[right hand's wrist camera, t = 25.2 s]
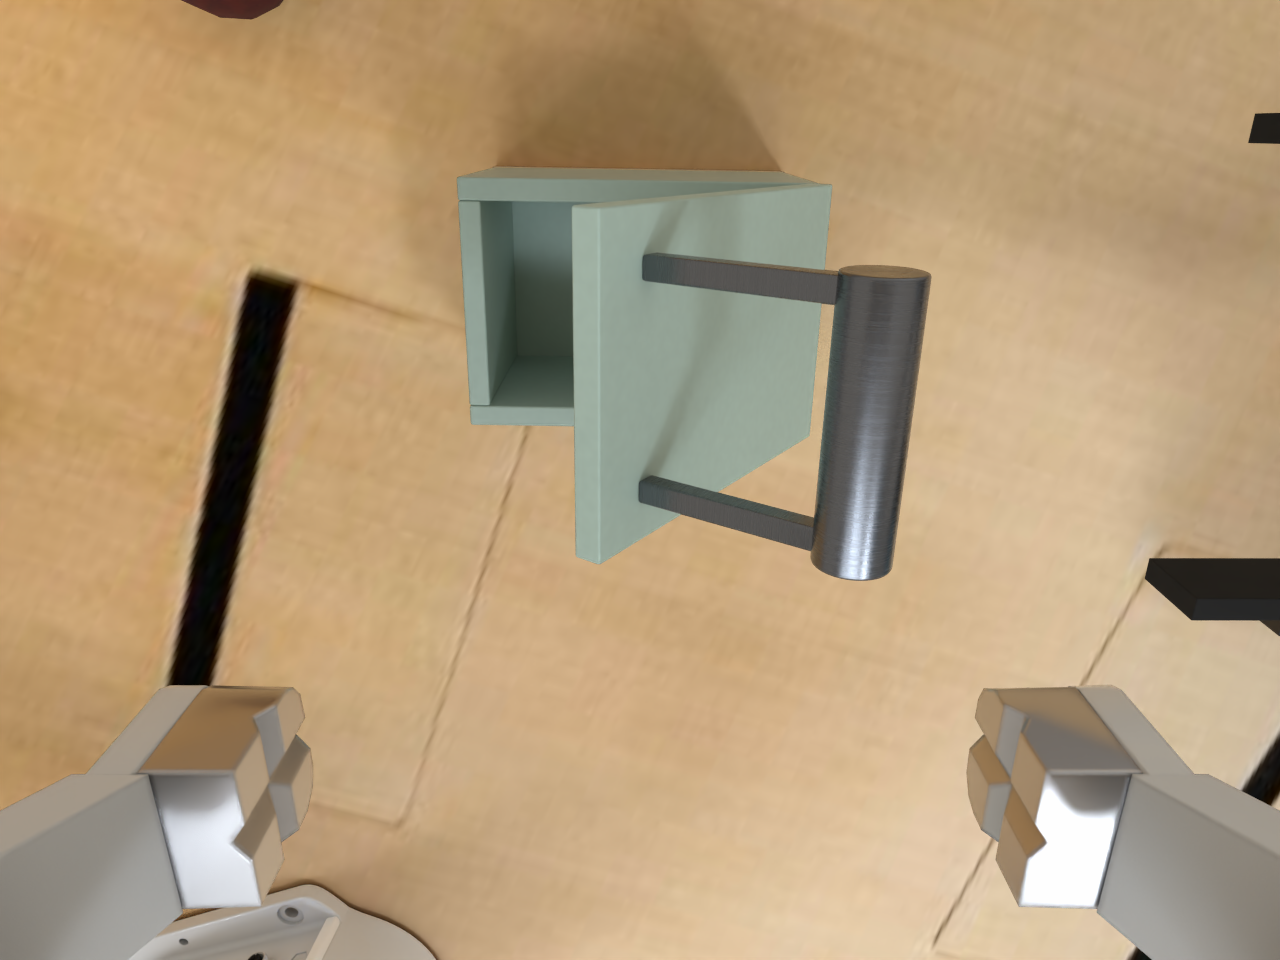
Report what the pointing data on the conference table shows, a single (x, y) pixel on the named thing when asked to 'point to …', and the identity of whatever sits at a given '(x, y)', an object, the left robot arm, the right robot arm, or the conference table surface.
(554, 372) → the chest
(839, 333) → the lid
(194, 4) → the potato
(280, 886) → the conference table surface
